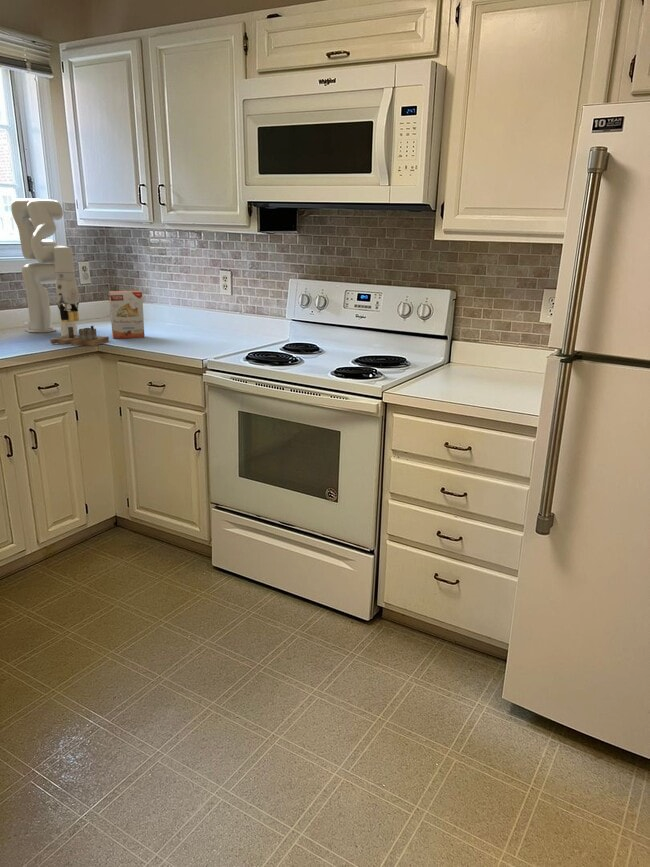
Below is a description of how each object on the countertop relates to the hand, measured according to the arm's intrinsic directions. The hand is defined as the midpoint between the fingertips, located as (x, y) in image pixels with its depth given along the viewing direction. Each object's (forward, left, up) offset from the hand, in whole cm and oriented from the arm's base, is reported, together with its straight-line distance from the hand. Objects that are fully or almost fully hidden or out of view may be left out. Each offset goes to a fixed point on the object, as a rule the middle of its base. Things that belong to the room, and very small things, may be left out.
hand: (69, 318), depth 279 cm
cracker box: (+17, +19, -11) cm, 28 cm away
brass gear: (0, 0, -1) cm, 1 cm away
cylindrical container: (-10, +14, -10) cm, 20 cm away
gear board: (+4, 0, -10) cm, 11 cm away
